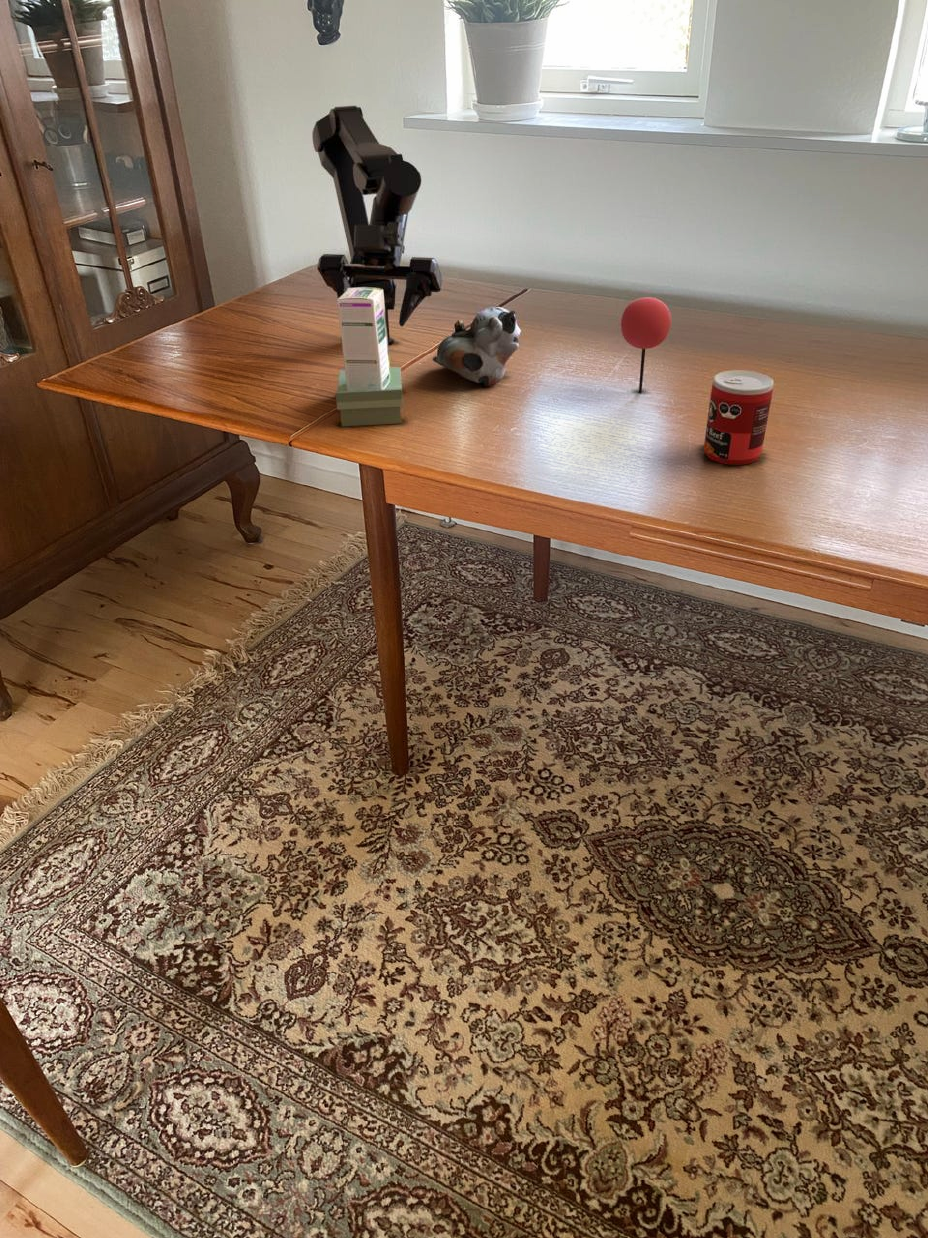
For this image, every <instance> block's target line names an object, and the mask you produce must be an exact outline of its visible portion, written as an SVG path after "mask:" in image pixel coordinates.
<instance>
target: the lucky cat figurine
mask: <svg viewBox="0 0 928 1238" xmlns="http://www.w3.org/2000/svg"><path fill="white" fill-rule="evenodd" d="M516 316H517V310H515V309H513V310H510V311H509V310H508V309H507V308H504V307H501V306H488V307H487V308H484V309H482V310H480V311H478V312H477V313H476V315H475V317H474V318H473V319H472V322H471V324H470V327H469V328H468V329H467V328H466V326H465V322H463V321H462V320H460V319H457V321H456V322H455V323H454V332H453V333H451V334H450V335H449V336H446V337H445V338H443V339H442V340H441V342H440V343H439V344H438V347H437V349H436V350H437V351H436V356H434V357H432V361H433V362H434V363H436V364H437V365H439V366H442V367H443V368H446V369H448V370H451V371H453V372H455V373H457V374H458V375H459V376H461V377H463V378H464V379H466V380H468V381H471V382H474V383H476V384H481V383H483V385H484V386H485V387H492V386H493V385H495V384H496V383H498V382H499V381H500V380H502V379H503V378H504V376H505V372H506V363H507V362H508V361H509V359H510V358H511V356H512V355H513V354H514V353H515V352H516V351H517V350H518V349H519V346H520V343H519V337H520V334H521V333H522V330H521V328H520V327H519V326H518V322H517V317H516Z"/></svg>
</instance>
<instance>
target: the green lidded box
mask: <svg viewBox="0 0 928 1238" xmlns="http://www.w3.org/2000/svg"><path fill="white" fill-rule="evenodd" d="M390 372H391V381H390V382H389V384H388V385H387V387H386V388H385V389H379V390H359V391H348V390H347V383H346V374H345V369H339V370H338V378H337V379H338V380H337V381H338V382H337V391H335V400H336V401H335V402H336V410H337V411H339V412H340V413H339V414H340V422H341V427H358V426H359V427H360V426H376V425H377V426H379V425H394V424H395V425H396V424H402V410H401V409H402V408H401V407H404V401H403V399H404V398H403V386H402V384H403V383H402V373H401V366H390Z"/></svg>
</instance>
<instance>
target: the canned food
mask: <svg viewBox="0 0 928 1238" xmlns="http://www.w3.org/2000/svg"><path fill="white" fill-rule="evenodd" d="M774 383H775V381H774V380H773V378H771V377H770V376H769V375H766V374H764V373H761V372H758V371H752V370H746V369H745V370H744V369H732V370H725V371H721V372H719V373H717V374H715V375H714V376H713V380H712V383H711V384H712V385H711V391H710V396H709V397H710V398H709V405H708V411H707V412H708V414H707V420H706V427H705V436H704V443H703V449H704V454H705V456H706V457H708V458H709V459H710V460H711V461H714V462H716V463H719V464H723V465H730V466H743V465H749V464H752V463H754V462H756V461H757V460H759V458H760V456H761V455H762V452H763V446H764V441H765V435H766V431H767V425H768V421H769V414H770V409H771V403H772V397H773V391H774Z"/></svg>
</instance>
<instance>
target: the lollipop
mask: <svg viewBox="0 0 928 1238" xmlns="http://www.w3.org/2000/svg"><path fill="white" fill-rule="evenodd" d="M671 316H672V315H671V312H670V310H669V308H668V306H667V305H666V304H665V302H663V301H662V300H660V299H658V298H655V297H651V296H645V297H638V298H636V299H634V300H632V301H631V302H630V303H628V305H626V307H625V309H624V310H623V312H622V316H621V319H620V330H621V335H622V336H623V338H624V340H625V341H626V343H627V344H629V345H630V346H632V347H633V348H636V349H641V355H640V356H641V357H640V371H639V383H638V391H637V392H638V393H643V382H644V371H645V358H646V350H647V349H654V348H656V347H658V346H660V345H661V344H662V343H663V342H664V341H665V340H666V338H667V337H668V334H669V333H670V330H671V326H672V317H671Z"/></svg>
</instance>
